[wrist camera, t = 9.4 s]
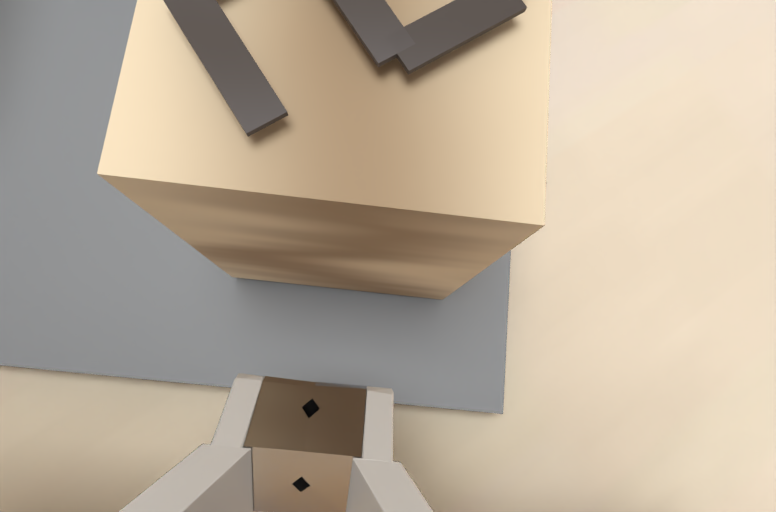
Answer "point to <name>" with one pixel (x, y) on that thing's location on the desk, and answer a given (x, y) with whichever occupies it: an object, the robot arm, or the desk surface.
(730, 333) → the desk surface
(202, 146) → the wooden digit block 2
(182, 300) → the grey ledged board
